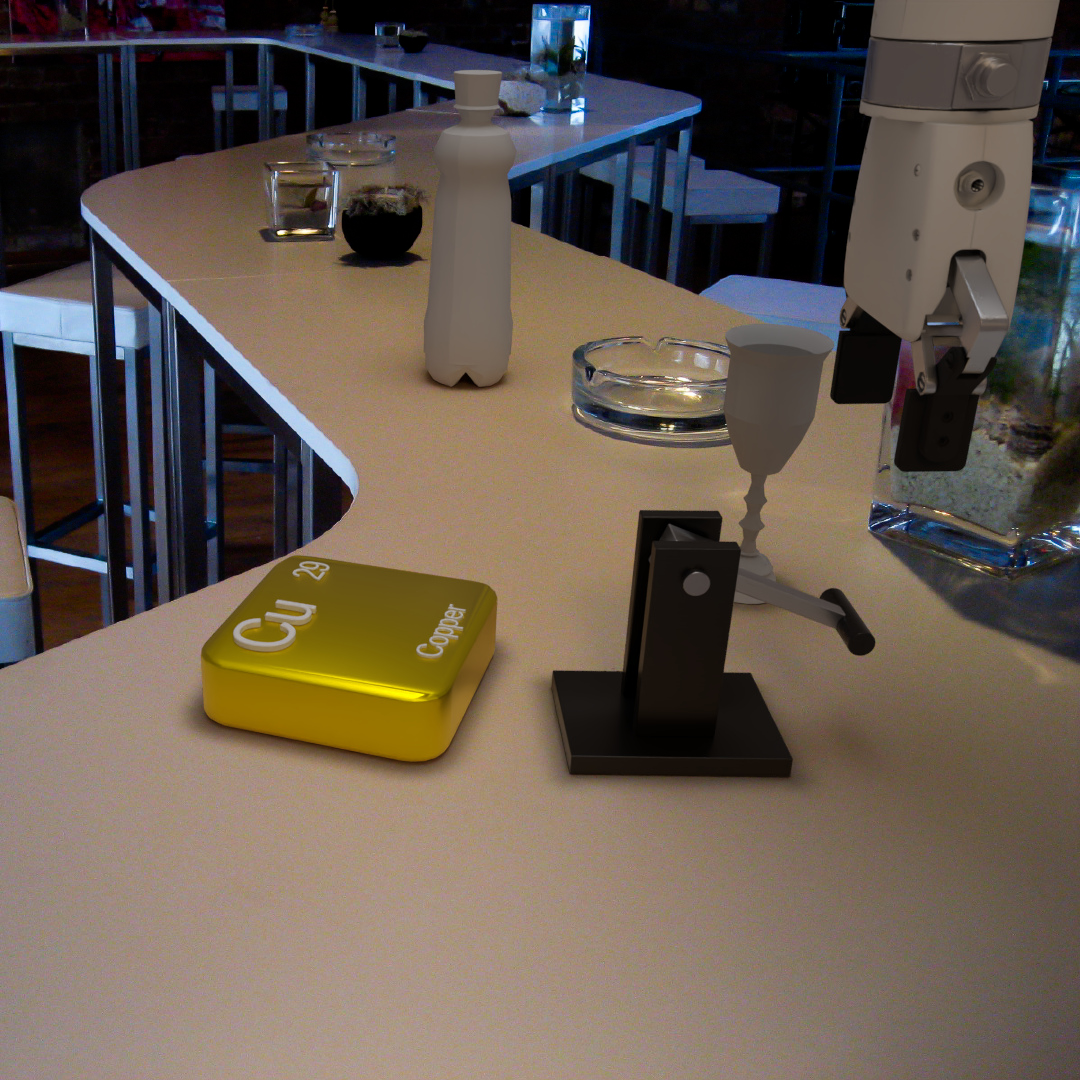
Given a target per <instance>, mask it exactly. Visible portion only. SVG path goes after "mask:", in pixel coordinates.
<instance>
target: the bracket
mask: <svg viewBox="0 0 1080 1080" xmlns="http://www.w3.org/2000/svg"><path fill="white" fill-rule="evenodd" d="M668 524H671V525H674V526H676V527H679V528H681V529H684V530H686V531H689V532H692V533H694V534H697V535H699V536H702V537H704V538H707V539H710V540H712V541H659V540H660V538H661V536H662V534H663V532H664V531H665V529H666V527H667V525H668ZM722 526H723V516H722V514H721V512H720V511H719V510H687V509H686V510H685V509H684V510H683V509H682V510H680V509H679V510H675V509H673V510H670V509H666V510H665V509H640V510H638V519H637V530H636V539H635V548H634V558H633V565H632V566H633V569H632V577H631V586H630V588H631V589H630V596H629V605H628V606H629V607H628V616H627V625H626V636H625V643H624V644H625V645H624V655H623V665H622V670H566V669H565V670H561V669H559V670H557V669H556V670H552V674H551V691H552V695H553V700H554V704H555V710H556V715H557V719H558V724H559V728H560V734H561V738H562V743H563V747H564V751H565V757H566V762H567V766H568V770H569V774H571V775H630V776H631V775H633V776H635V775H637V776H643V775H644V776H701V777H702V776H707V777H708V776H712V777H713V776H714V777H780V778H781V777H783V778H784V777H785V778H786V777H791V774H792V768H793V764H794V763H793V762H794V758H793V756H792V753H791V752H790V750H789V748H788V746H787V743H786V742H785V740H784V738H783V736H782V734H781V732H780V729H779V728H778V726H777V723H776V721H775V719H774V717H773V715H772V713H771V711H770V709H769V707H768V705H767V704H766V701H765V698H764V697H763V694H762V692H761V691H760V689H759V687H758V685H757V683H756V681H755V679H754V676H753V674H752V673H751V672H738V671H737V672H735V671H734V672H730V671H728V672H727V671H725V665H726V659H727V652H728V646H729V638H730V631H731V624H732V617H733V609H734V604H735V602H734V597H735V590H736V583H737V576H738V569H739V562H740V555H741V549H740V545H739V543H738V542H737V541H726V540H725V541H724V540H723V541H720V540H721V533H722ZM650 556H651V560H650V562H649V557H650Z"/></svg>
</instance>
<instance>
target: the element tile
mask: <svg viewBox="0 0 1080 1080" xmlns="http://www.w3.org/2000/svg"><path fill="white" fill-rule="evenodd" d="M497 615H498V595H497V593H496V590H494V589H493V588H492V587H491V586H490V585H489V584H487V583H484V582H480V581H476V580H470V579H465V578H464V579H463V578H457V577H450V576H443V575H438V574H437V575H436V574H432V573H431V574H430V573H424V572H417V571H410V570H404V569H398V568H391V567H384V566H379V565H378V566H377V565H371V564H365V563H359V562H352V561H344V560H339V559H333V558H325V557H318V556H312V555H310V556H309V555H301V554H297V555H296V554H295V555H290V556H289V557H287V558H285V559H284V560H281V561H280V562H278V563H277V564H275V565H274V566H273V567H272V568H271V569H270V571H268V573H266V575H265V576H264V577H263V578H262V579H261V580H260V582H258V584H257V585H256V586H255V587H254V588H253V589H252V590H251V591H250V593H249V594H248V595H247V596H246V597H245V598H244V599H243V600H242V601H241V602H240V603H239V605H238V606H236V608H235V609H234V610H233V612H232V613H231V614H230V615H229V616H227V618H226V619H225V620H224V621H223V623H221V625H220V626H219V627H218V628H217V629H216V630H215V632H214V633H212V635H210V637H209V638H208V639H207V640H206V641H205V642H204V644H203V646H202V647H201V651H200V668H201V682H202V683H201V685H202V699H203V700H202V701H203V711H204V712H205V714H206V715H207V716H208V719H210V720H212V721H214V722H216V723H217V724H220V725H222V726H224V727H230V728H234V729H238V730H239V729H240V730H244V731H249V732H255V733H260V734H265V735H270V736H276V737H280V738H284V739H288V740H289V739H290V740H295V741H299V742H305V743H309V744H314V745H315V744H316V745H320V746H325V747H330V748H336V749H340V750H344V751H345V750H346V751H350V752H356V753H360V754H365V755H366V754H367V755H371V756H376V757H381V758H385V759H386V758H387V759H391V760H395V761H400V762H401V761H402V762H410V763H413V762H417V763H418V762H426V761H429V760H433V759H436V758H438V757H439V756H441V755H442V754H444V753H445V751H447V749H448V748H449V746H450V744H451V742H452V740H453V739H454V736H455V735H456V732H457V730H458V728H459V726H460V724H461V722H462V720H463V718H464V716H465V714H466V712H467V709H468V708H469V706H470V704H471V701H472V700H473V697H474V695H475V693H476V691H477V689H478V687H479V685H480V683H481V681H482V678H483V677H484V674H485V672H487V671H486V670H487V669H488V666H489V664H490V662H491V660H492V658H493V656H494V654H495V649H496V637H497V618H498V616H497Z"/></svg>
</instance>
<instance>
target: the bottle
mask: <svg viewBox="0 0 1080 1080" xmlns="http://www.w3.org/2000/svg"><path fill="white" fill-rule="evenodd" d="M502 77H503V72H502V71H499V70H492V69H491V70H489V69H464V70H463V69H462V70H455V71H453V82H454V84H453V85H454V95H455V96H454V98H455V104H454V105H453V106H452V107H453V108H454V109H456V110H457V112H458V114H459V117H460V119H461V120H460V121H459V123H457V124H454V125H453V126H450V127H448V128H446V129H443V130H442V131H441V134H440V136H439V138H438V139H437V142H436V144H435V146H434V148H433V154H434V160H435V164H436V167H437V168H438V171H439V172H440V175H439V180H438V183H437V188H436V194H435V198H434V208H433V209H434V210H433V224H432V225H433V226H432V235H431V236H432V237H431V250H430V251H431V252H430V267H429V278H428V279H429V281H428V292H427V293H428V294H427V306H426V309H425V313H424V314H425V315H424V319H423V353H424V357H425V358H424V361H425V362H424V363H425V369H426V370H427V371H428V373H429V375H430V376H431V378H432V380H434V381H435V382H437V383H439V384H442V385H444V386H448V387H451V388H452V387H454V386H455V385H458V383H459V382H460V380H461V379H462V377H463V376H464V375H465V374H467V375H468V376H469V378H470V379H471V380H472V382H473V383H474V385H476V386H477V387H478V388H482V387H491V386H493V385H495V384H497V383H498V382H500V380H501V379H502V377H503V376H504V375H505V373H506V372H507V371H508V369H509V367H508V366H509V361H510V356H511V354H512V343H513V330H514V321H513V314H512V306H511V305H512V304H511V300H512V298H511V297H512V296H511V294H512V291H511V290H512V283H511V282H512V197H511V190H510V189H511V188H510V185H509V184H510V182H509V176H508V175H509V173H510V171H511V169H512V167H513V166H514V162H515V160H516V159H515V158H516V154H517V149H516V146H515V144H514V142H513V139H512V136H511V133H510V132H509V131H508V130H506V129H505V128H502V127H500V126H499V125H497V124H494V123H493V121H492V119H493V116H494V114H495V112H496V110H498V109H500V108H501V106H500V105H499V98H500V92H501V84H502V79H503V78H502Z"/></svg>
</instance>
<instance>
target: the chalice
mask: <svg viewBox="0 0 1080 1080" xmlns="http://www.w3.org/2000/svg"><path fill="white" fill-rule="evenodd" d="M724 339H725V341H726V344H727V347H728V350H729V352H730V354H729V362H728V369H727V378H726V385H725V391H724V401H723V413H724V417H725V424H726V429H727V434H728V437H729V439H730V443H731V445H732V448H733V451H734V454H735V457H736V460H737V462H738V465H739V467H740V468H741V469H742V470H744V471H745V472H747V473H749V474H750V480H751V481H750V482H751V483H750V486H749V488H748V491H747V493H746V495H744V496H743V501H744V502H745V504H746V505H745V506H746V513H745V514H744V515H745V516H744V517H743V518H742V519H740V520H739V522H738V525H739V526H740V528H741V529H742V537H743V539H742V540H741V544H740V545H739V547H740V549H741V555H740V562H739V568H742V569H745V570H747V571H750V572H752V573H755V574H757V575H760V576H763V577H765V578H768V579H770V580H773V581H776V582H777V576H776V574H775V572H774V566H773V564H772V563H771V561H770V559H769V558H768V556H766V555H765V554H764V553H762V552H760V549H758V548H757V538H758V536H759V533H760V532H761V530H763V529H765V528H766V526H765V524H764V522H763V520H762V518H761V512H762V509H763V508H764V506H765V505H766V504H767V503H768V498H767V496H766V494H765V484H766V480H767V478H768V476H772V475H776V474H779V473H780V472H781V471H782V470H783V468H784V467H785V466H786V464H787V463H788V461H789V460H790V458H791V457H792V456H793V454H794V453H795V452H796V450H797V449H798V448H799V446H800V444H801V443H802V441H803V440H804V439H805V436H806V434H807V432H808V431H809V428H810V427H811V425H812V423H813V421H814V419H815V415H816V410H817V403H818V398H819V391H820V386H821V378H822V373H823V367H824V362H825V361H826V359H827V357H828V356H829V355H830V353H831V352H832V350H833V349H834V348H835V341H834V340H833V339H832V338H831V337H829V335H826V334H824V333H821V332H819V331H816V330H813V329H809V328H806V327H801V326H795V325H789V324H779V323H750V324H741V325H738V326H735V327H731V328H729V329H728V330H727V331H725V333H724ZM734 603H738V604H745V605H760V604H765V603H766V602H763V601H761V600H758V599H756V598H753V597H750V596H748V595H745V594H742V593H740V592H737V591H735V597H734ZM766 604H767V603H766Z"/></svg>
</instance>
